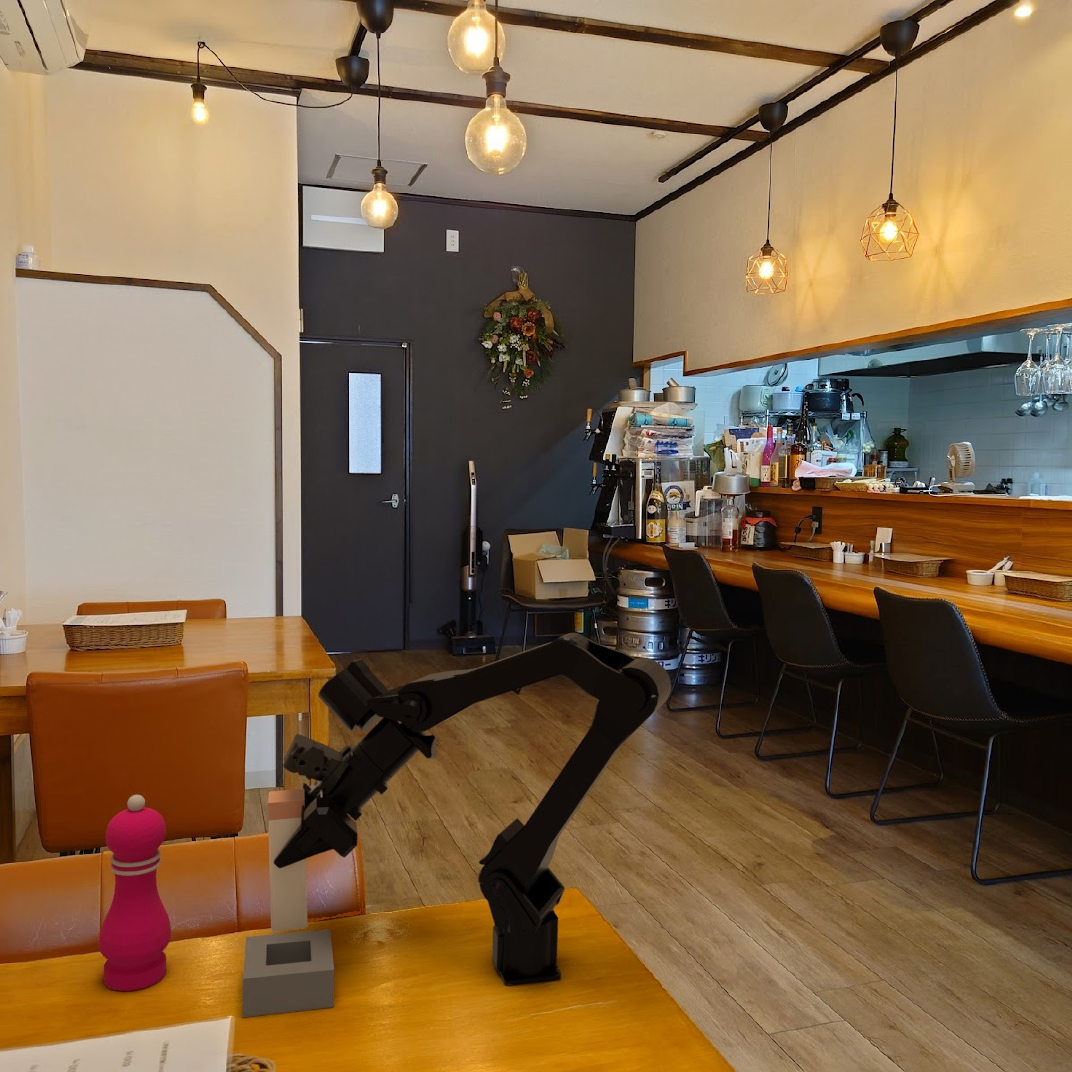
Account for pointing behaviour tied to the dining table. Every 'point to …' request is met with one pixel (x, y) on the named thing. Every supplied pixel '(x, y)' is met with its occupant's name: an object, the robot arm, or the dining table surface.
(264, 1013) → the socket block
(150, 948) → the pepper mill
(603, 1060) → the dining table surface
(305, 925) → the plug
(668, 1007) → the dining table surface
